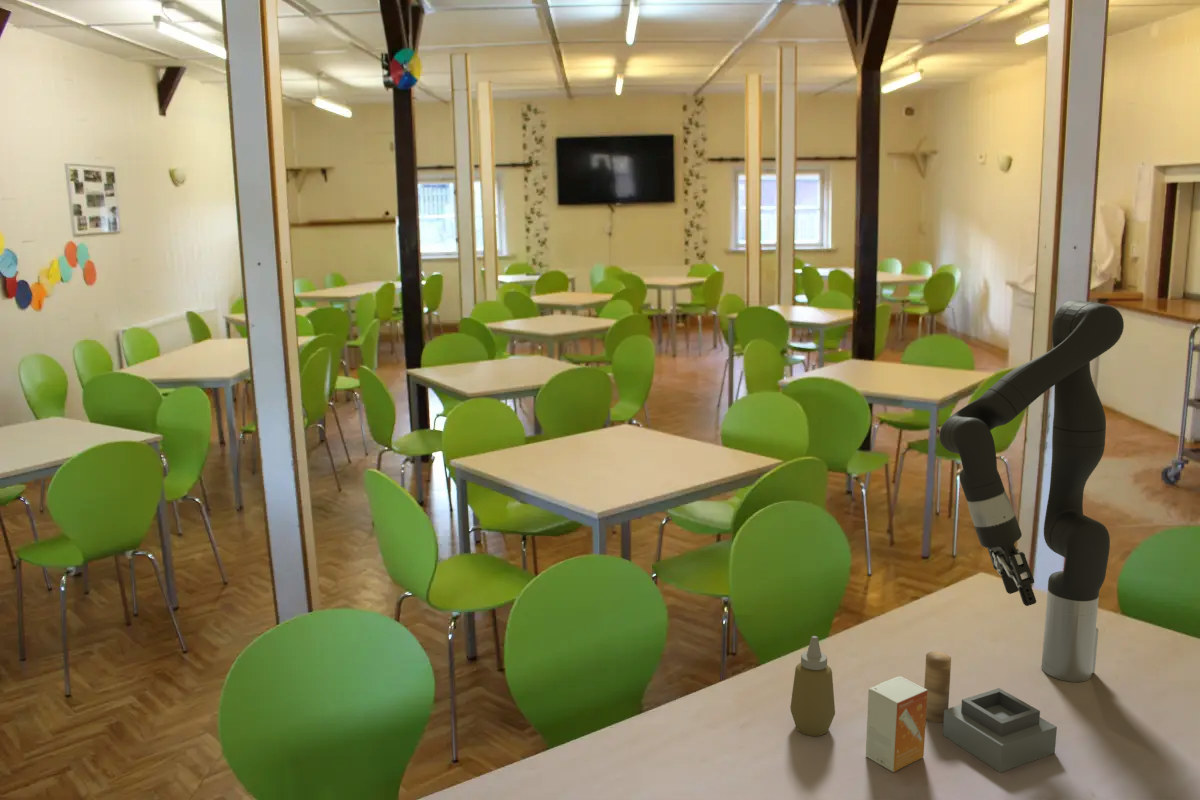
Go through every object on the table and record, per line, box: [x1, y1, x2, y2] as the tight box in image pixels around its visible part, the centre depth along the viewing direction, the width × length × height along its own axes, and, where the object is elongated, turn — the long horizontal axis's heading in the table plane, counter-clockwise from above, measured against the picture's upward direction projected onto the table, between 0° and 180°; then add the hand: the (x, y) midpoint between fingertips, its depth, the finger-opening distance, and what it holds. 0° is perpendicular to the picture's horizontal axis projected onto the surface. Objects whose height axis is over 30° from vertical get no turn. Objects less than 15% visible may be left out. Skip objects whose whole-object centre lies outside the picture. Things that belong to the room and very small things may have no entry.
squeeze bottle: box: [790, 635, 836, 737], centre depth 174 cm, size 8×8×18 cm
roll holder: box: [942, 687, 1058, 773], centre depth 169 cm, size 13×13×8 cm
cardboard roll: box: [923, 651, 952, 723], centre depth 178 cm, size 4×4×12 cm
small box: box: [865, 675, 928, 773], centre depth 165 cm, size 8×6×13 cm
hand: (1021, 598), depth 180 cm, fingers open, 8 cm apart
